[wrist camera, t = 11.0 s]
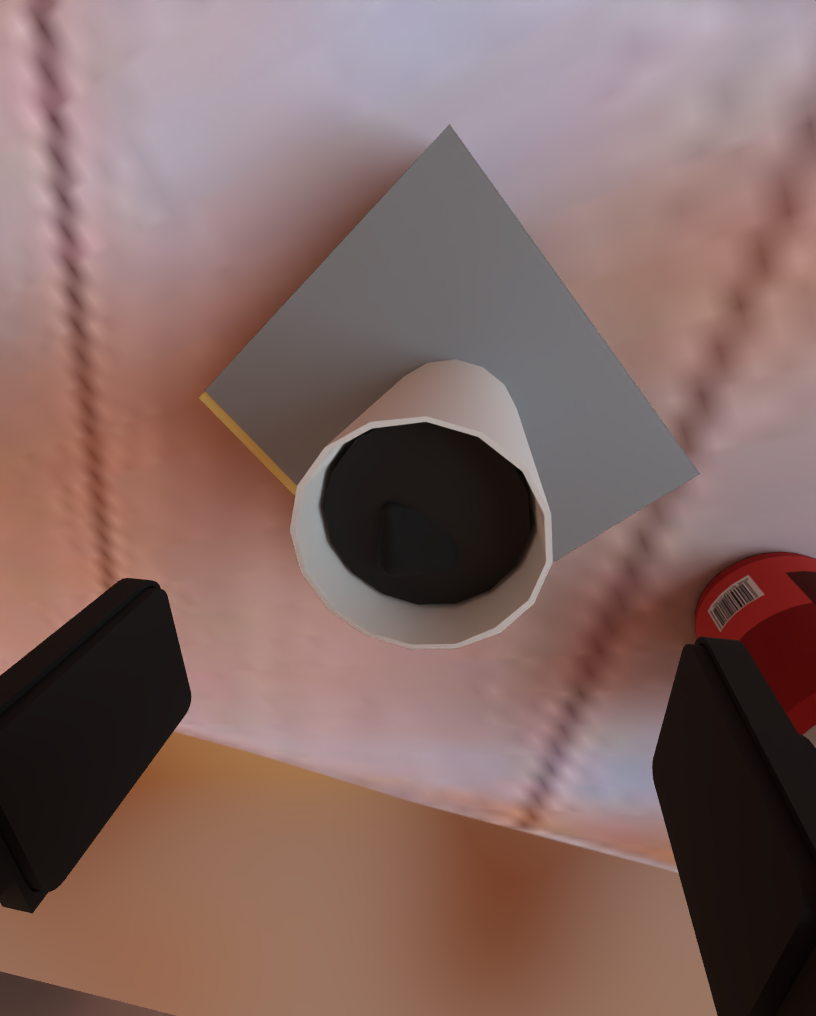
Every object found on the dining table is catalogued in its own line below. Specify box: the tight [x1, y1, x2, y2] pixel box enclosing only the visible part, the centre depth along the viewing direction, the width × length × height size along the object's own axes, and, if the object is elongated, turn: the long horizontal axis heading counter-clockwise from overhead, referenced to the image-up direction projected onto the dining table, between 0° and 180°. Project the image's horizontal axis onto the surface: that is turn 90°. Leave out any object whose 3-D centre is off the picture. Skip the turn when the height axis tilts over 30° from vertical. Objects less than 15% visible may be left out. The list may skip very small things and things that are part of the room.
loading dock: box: [199, 124, 700, 562], centre depth 24 cm, size 16×15×5 cm
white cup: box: [290, 359, 553, 649], centre depth 17 cm, size 7×7×10 cm
